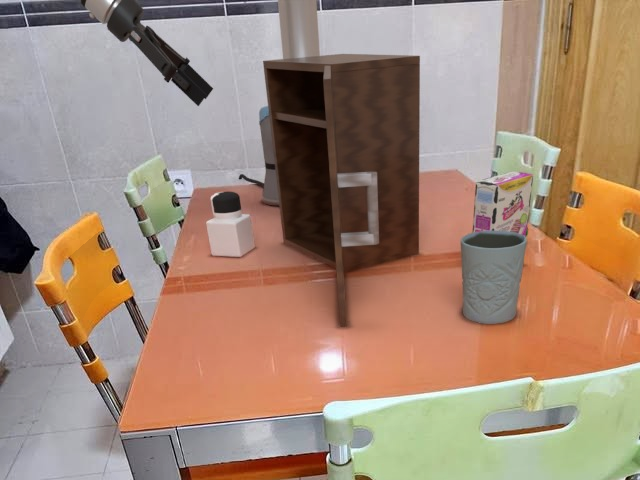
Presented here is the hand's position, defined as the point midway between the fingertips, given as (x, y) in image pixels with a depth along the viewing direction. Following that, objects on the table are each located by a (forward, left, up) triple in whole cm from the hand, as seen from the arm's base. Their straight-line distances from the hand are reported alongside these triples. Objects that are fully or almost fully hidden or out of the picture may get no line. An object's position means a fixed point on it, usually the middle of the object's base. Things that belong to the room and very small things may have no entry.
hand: (206, 97), depth 136 cm
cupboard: (+32, +6, -28) cm, 43 cm away
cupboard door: (+51, -16, -28) cm, 61 cm away
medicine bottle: (+11, -8, -28) cm, 31 cm away
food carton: (+66, +9, -28) cm, 72 cm away
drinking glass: (+75, -11, -28) cm, 81 cm away
